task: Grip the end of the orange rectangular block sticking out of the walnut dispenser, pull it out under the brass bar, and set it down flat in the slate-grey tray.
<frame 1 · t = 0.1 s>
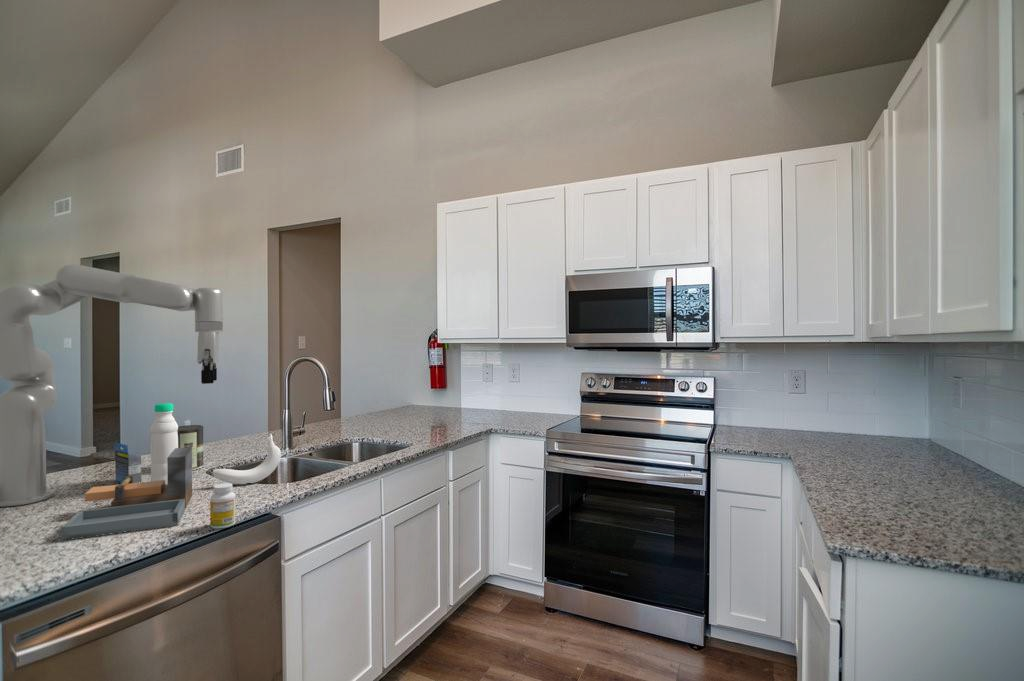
hand: (209, 382, 161), 31 cm above the countertop, tool pointing down, fingers open, 9 cm apart
dispenser: (145, 507, 137), on the countertop
coffee can: (186, 469, 176), on the countertop
tray: (128, 524, 125), on the countertop
water bottle: (164, 485, 157), on the countertop
supplement bottle: (223, 525, 125), on the countertop
banana: (248, 484, 159), on the countertop
orange rectangular block: (126, 494, 136), point 4 cm above the countertop, touching dispenser
label tape cartridge: (128, 482, 160), on the countertop
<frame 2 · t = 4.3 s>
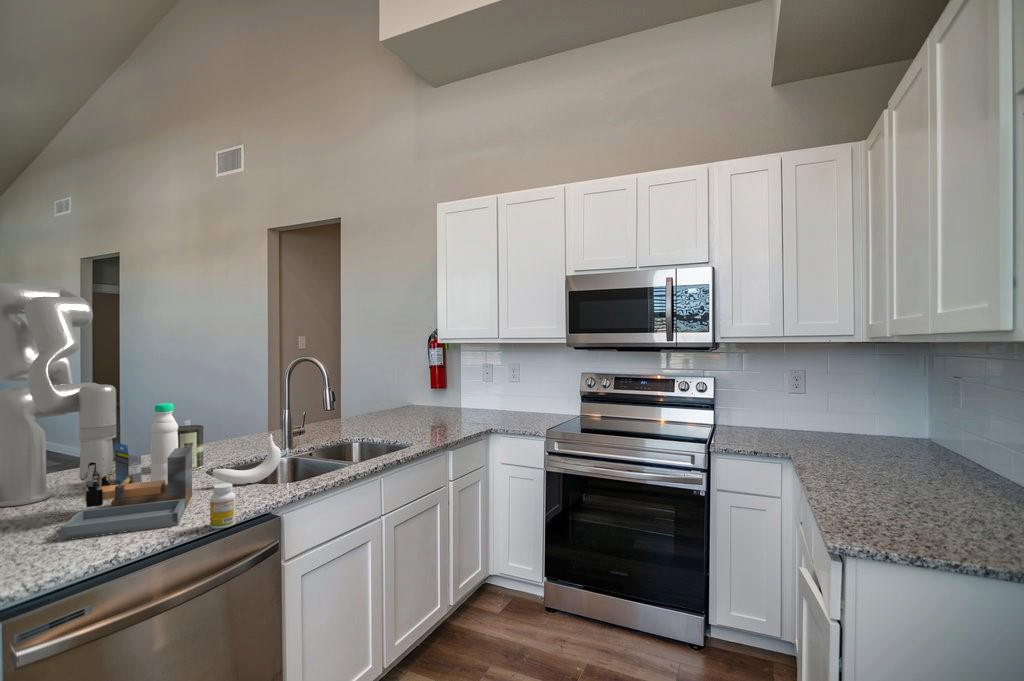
hand: (98, 501, 133), 3 cm above the countertop, tool pointing down, fingers closed on orange rectangular block, 5 cm apart
orange rectangular block: (126, 494, 136), point 4 cm above the countertop, touching dispenser, gripper
everything else where it was.
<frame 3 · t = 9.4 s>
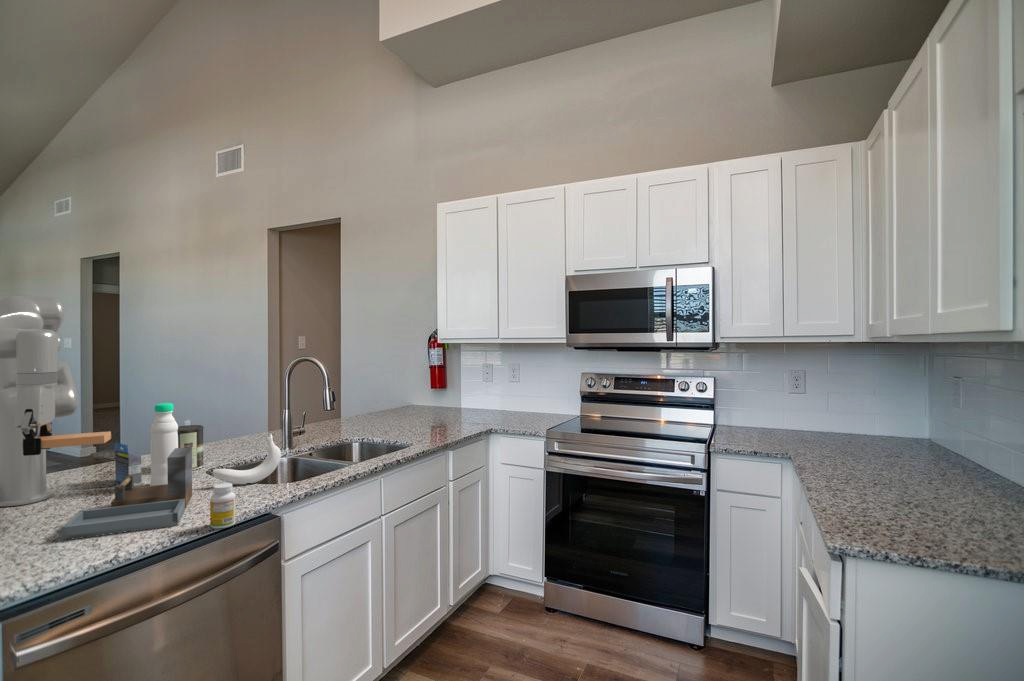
hand: (37, 451, 128), 17 cm above the countertop, tool pointing down, fingers closed on orange rectangular block, 5 cm apart
orange rectangular block: (68, 444, 131), point 18 cm above the countertop, touching gripper
everything else where it was.
when the fingers open (2 cm above the countertop, at t = 14.6 s): orange rectangular block drops 3 cm, resting on tray.
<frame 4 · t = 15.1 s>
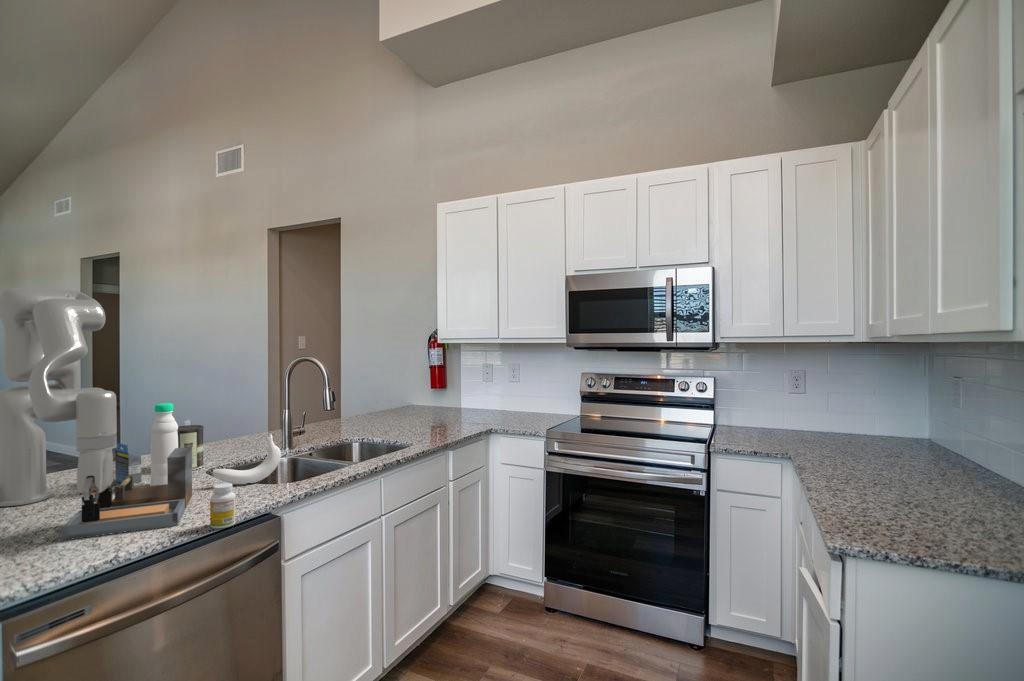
hand: (97, 514, 123), 3 cm above the countertop, tool pointing down, fingers open, 9 cm apart
orange rectangular block: (127, 520, 125), point 1 cm above the countertop, touching tray
everything else where it was.
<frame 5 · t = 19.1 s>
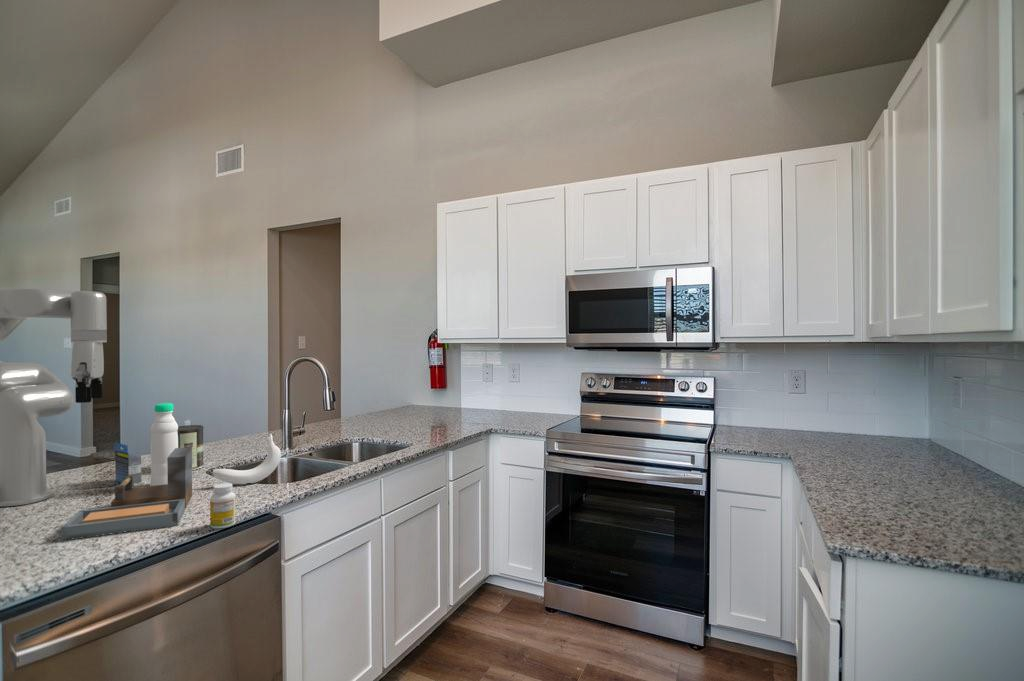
hand: (89, 400, 139), 28 cm above the countertop, tool pointing down, fingers open, 9 cm apart
nothing on the countertop moved.
at the end: orange rectangular block inside the target area on the tray (0.1 cm from its centre), point 1.0 cm above the tray's base; orange rectangular block touching tray; the gripper is holding nothing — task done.
